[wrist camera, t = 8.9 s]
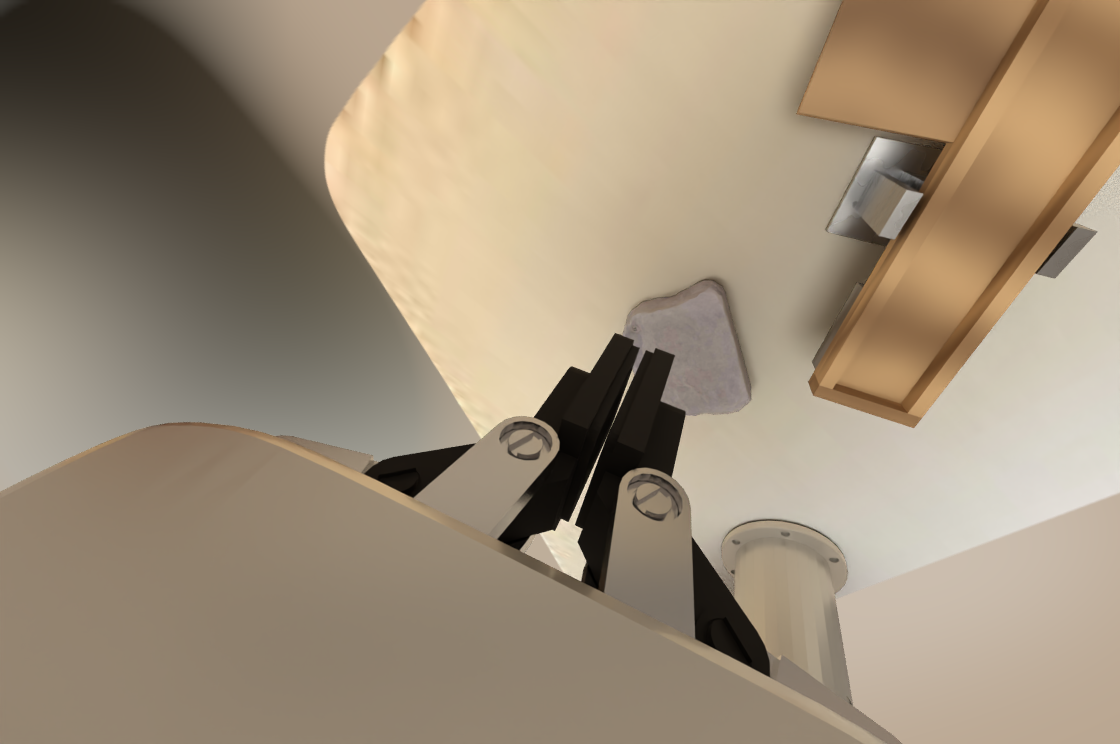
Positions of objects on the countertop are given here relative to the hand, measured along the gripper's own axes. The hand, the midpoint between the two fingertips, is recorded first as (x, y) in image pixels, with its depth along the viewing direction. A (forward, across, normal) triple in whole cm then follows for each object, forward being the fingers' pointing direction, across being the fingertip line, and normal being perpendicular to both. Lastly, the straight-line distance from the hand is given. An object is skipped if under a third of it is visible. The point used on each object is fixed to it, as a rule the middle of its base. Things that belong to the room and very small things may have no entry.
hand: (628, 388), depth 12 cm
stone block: (+27, -2, +12) cm, 30 cm away
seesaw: (+22, -9, -3) cm, 24 cm away
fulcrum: (+26, -13, -4) cm, 30 cm away
